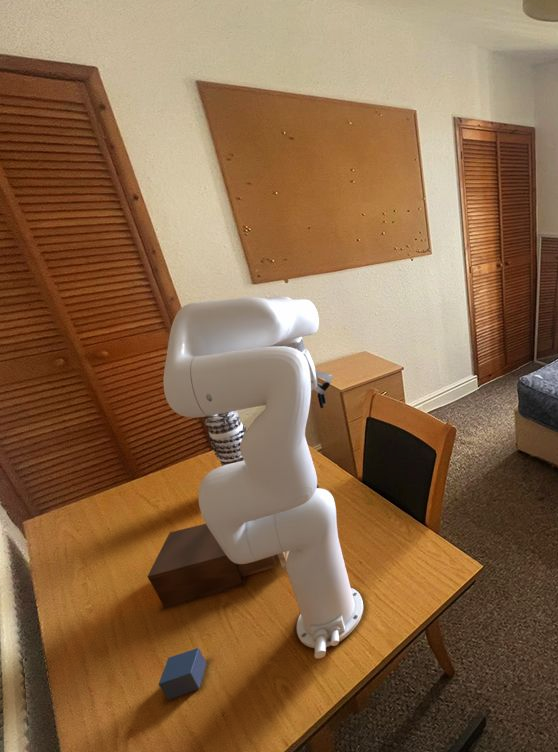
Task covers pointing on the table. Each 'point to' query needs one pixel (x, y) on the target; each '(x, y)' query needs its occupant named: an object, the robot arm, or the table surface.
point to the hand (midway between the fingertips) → (302, 409)
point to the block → (182, 673)
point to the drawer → (262, 564)
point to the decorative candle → (226, 436)
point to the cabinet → (192, 567)
